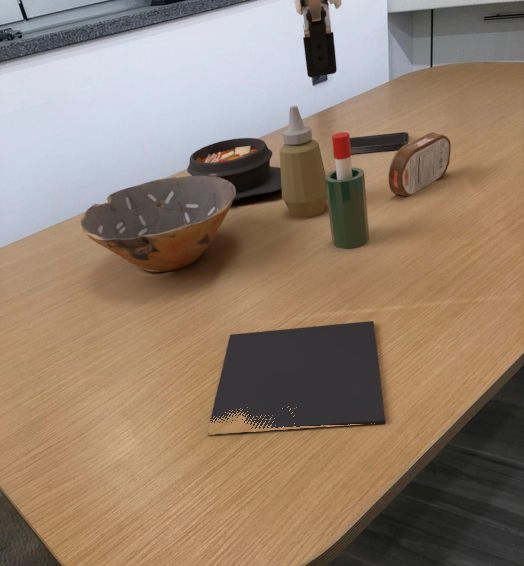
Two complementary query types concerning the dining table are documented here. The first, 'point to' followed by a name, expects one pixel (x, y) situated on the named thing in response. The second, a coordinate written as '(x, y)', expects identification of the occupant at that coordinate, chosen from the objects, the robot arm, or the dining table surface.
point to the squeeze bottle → (302, 170)
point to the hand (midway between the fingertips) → (321, 66)
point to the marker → (342, 155)
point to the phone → (378, 142)
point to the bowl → (161, 220)
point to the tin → (419, 164)
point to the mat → (302, 377)
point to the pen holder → (347, 209)
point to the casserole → (238, 166)
